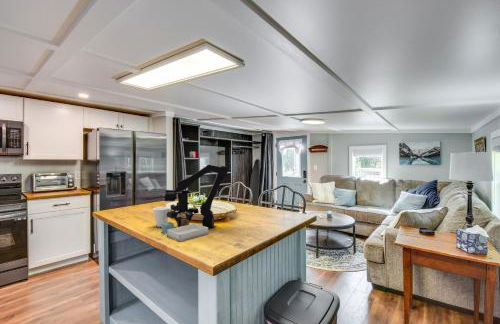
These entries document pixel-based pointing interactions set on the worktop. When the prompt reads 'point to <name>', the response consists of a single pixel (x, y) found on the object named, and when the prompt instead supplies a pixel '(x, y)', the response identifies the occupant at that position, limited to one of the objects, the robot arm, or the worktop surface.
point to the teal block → (167, 227)
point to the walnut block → (184, 222)
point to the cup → (161, 215)
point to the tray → (187, 232)
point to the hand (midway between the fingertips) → (183, 226)
